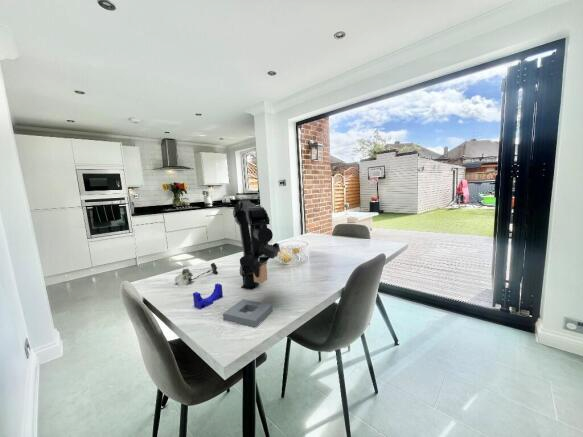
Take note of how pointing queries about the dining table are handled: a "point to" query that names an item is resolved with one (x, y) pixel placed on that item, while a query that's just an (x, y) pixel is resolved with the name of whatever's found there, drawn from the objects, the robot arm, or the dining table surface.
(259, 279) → the tan upright block
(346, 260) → the dining table surface
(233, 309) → the socket plate
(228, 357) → the dining table surface
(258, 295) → the dining table surface
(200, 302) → the cable clip
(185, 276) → the artificial flower
